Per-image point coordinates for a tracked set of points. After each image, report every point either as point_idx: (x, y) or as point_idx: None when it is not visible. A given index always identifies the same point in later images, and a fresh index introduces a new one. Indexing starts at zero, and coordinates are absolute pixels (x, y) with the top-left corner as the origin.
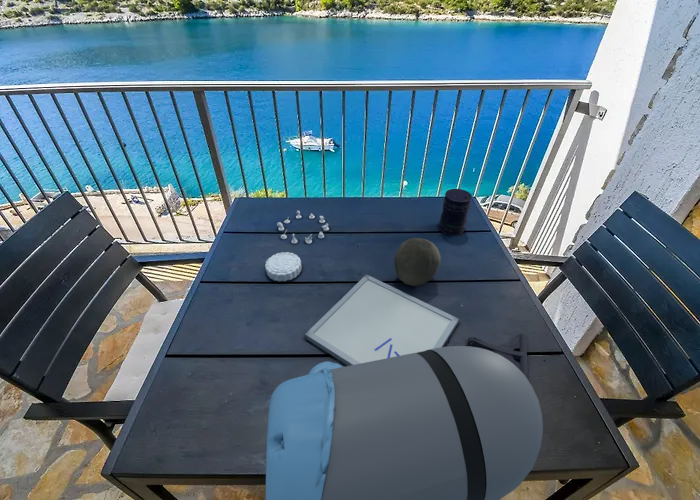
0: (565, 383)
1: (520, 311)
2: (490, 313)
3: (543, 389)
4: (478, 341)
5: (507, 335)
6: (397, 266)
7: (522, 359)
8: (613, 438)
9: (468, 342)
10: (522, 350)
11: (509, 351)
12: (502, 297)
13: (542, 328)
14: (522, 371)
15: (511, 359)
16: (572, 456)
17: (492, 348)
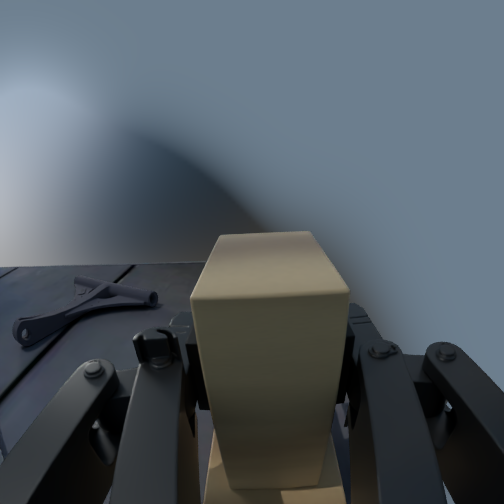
0: (181, 272)
1: (47, 277)
2: (15, 301)
3: (180, 290)
4: (31, 319)
5: (61, 298)
6: None
7: (114, 287)
8: None
9: (18, 338)
10: (99, 283)
11: (87, 296)
12: (14, 284)
13: (87, 269)
14: (135, 292)
15: (102, 300)
16: None
17: (62, 311)
